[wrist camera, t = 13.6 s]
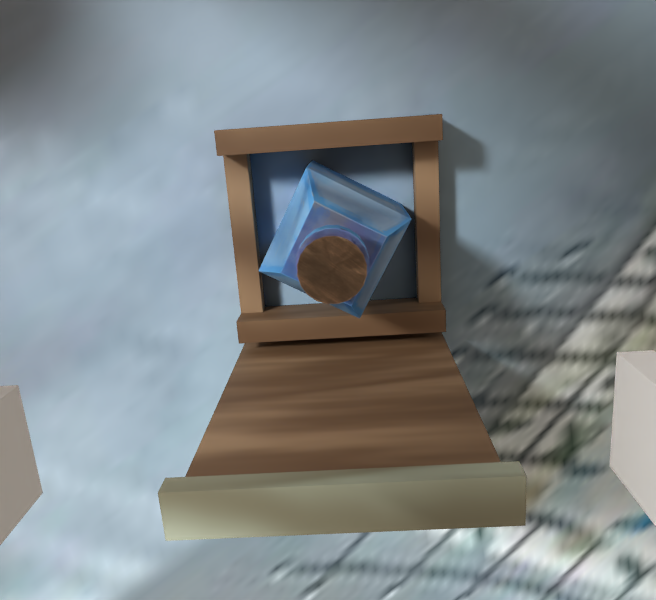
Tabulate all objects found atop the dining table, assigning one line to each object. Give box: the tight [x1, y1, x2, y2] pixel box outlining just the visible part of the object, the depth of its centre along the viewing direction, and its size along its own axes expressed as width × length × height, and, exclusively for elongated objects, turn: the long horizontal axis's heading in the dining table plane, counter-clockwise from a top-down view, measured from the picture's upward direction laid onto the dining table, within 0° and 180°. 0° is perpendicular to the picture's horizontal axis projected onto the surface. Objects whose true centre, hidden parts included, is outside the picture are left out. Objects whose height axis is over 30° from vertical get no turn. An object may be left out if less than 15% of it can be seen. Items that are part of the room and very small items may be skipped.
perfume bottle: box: [259, 160, 412, 318], centre depth 33 cm, size 6×6×12 cm
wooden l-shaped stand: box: [158, 114, 526, 541], centre depth 30 cm, size 15×14×19 cm
